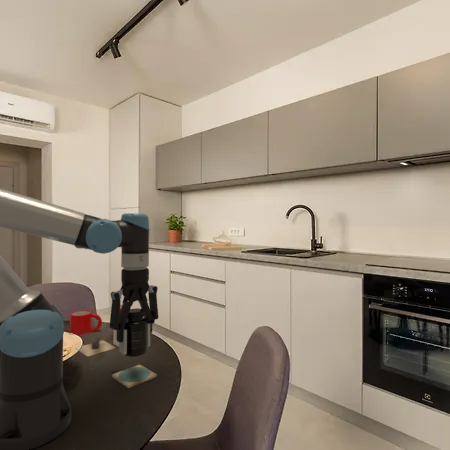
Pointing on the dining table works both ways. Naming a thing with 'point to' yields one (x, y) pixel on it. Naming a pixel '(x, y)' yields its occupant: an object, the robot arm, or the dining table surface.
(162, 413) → the dining table surface
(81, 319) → the mug
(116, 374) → the board
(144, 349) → the supplement bottle
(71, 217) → the robot arm
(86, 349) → the board
